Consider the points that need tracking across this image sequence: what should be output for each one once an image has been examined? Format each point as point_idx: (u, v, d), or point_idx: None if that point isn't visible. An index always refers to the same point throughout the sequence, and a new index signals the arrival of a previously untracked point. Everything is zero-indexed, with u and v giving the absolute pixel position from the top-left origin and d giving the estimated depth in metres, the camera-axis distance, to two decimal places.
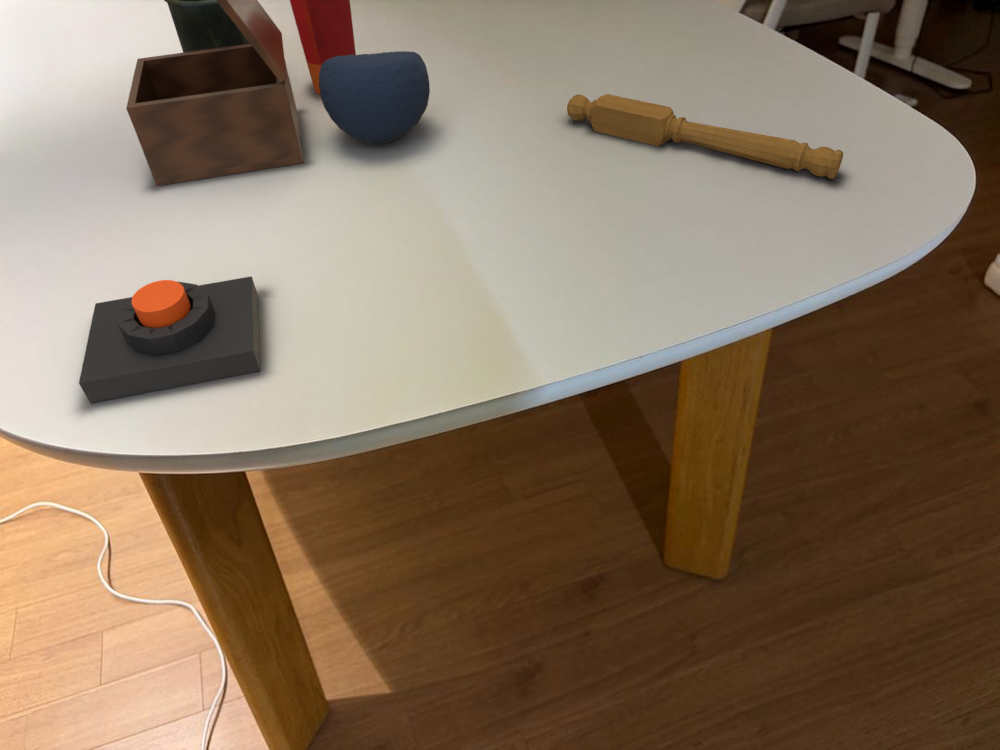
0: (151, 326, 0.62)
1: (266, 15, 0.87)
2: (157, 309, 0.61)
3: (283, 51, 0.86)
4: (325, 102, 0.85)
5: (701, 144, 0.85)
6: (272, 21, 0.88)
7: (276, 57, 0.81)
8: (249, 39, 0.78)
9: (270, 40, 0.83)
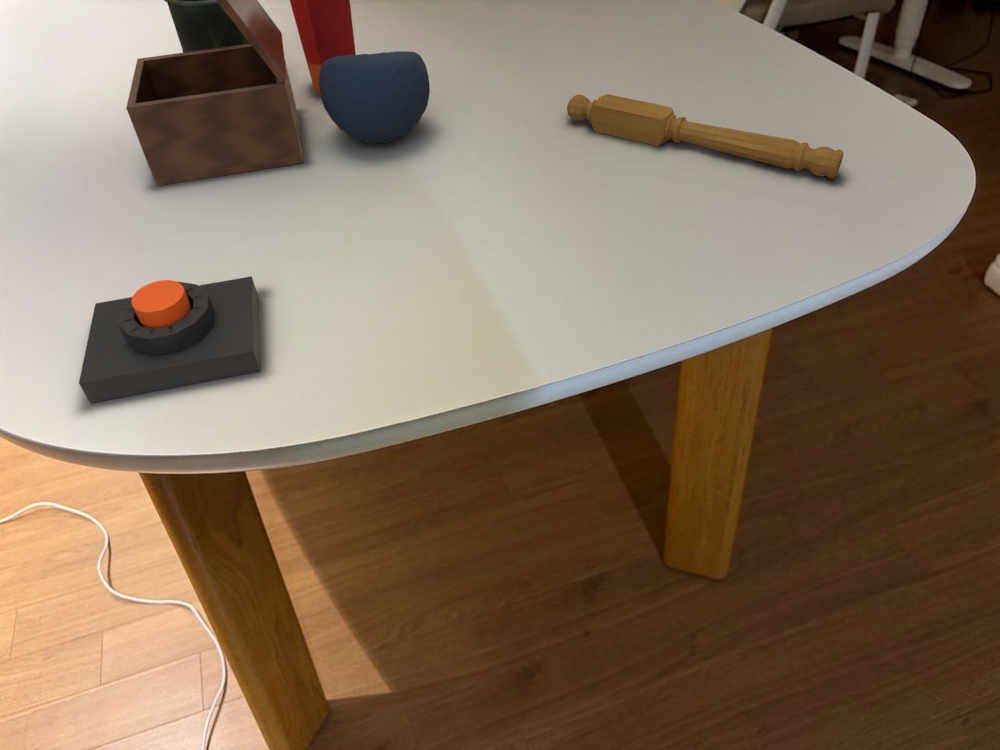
0: (151, 326, 0.62)
1: (266, 15, 0.87)
2: (157, 309, 0.61)
3: (283, 51, 0.86)
4: (325, 102, 0.85)
5: (701, 144, 0.85)
6: (272, 21, 0.88)
7: (276, 57, 0.81)
8: (249, 39, 0.78)
9: (270, 40, 0.83)
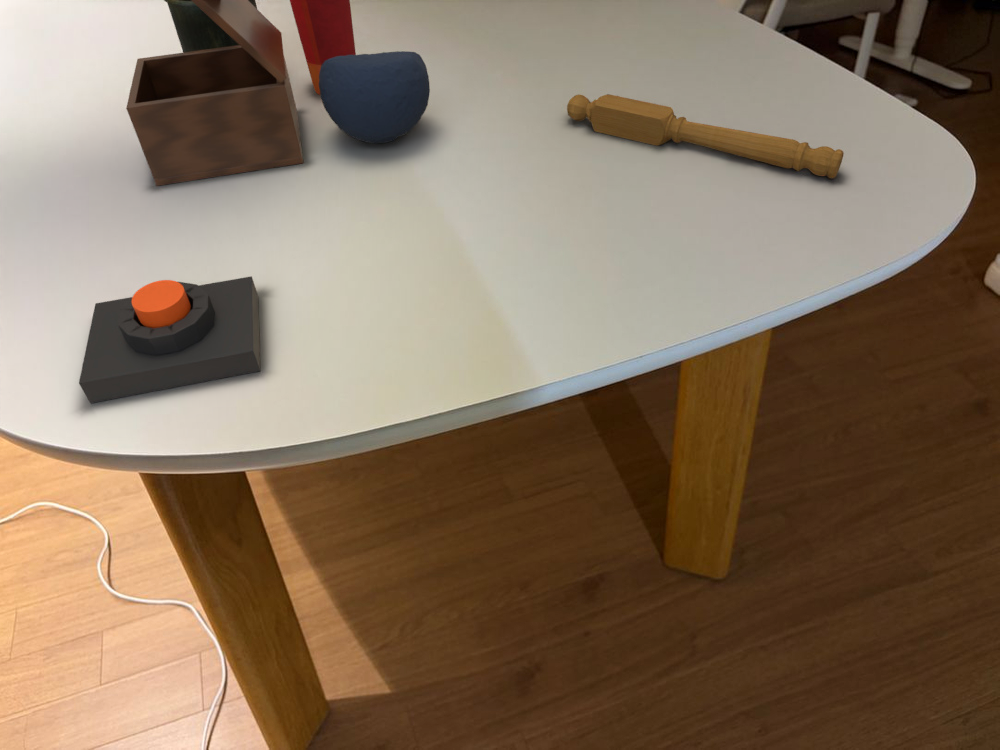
0: (151, 326, 0.62)
1: (262, 17, 0.87)
2: (157, 309, 0.61)
3: (282, 51, 0.86)
4: (325, 102, 0.85)
5: (701, 144, 0.85)
6: (269, 22, 0.88)
7: (273, 58, 0.82)
8: (242, 45, 0.78)
9: (266, 42, 0.83)
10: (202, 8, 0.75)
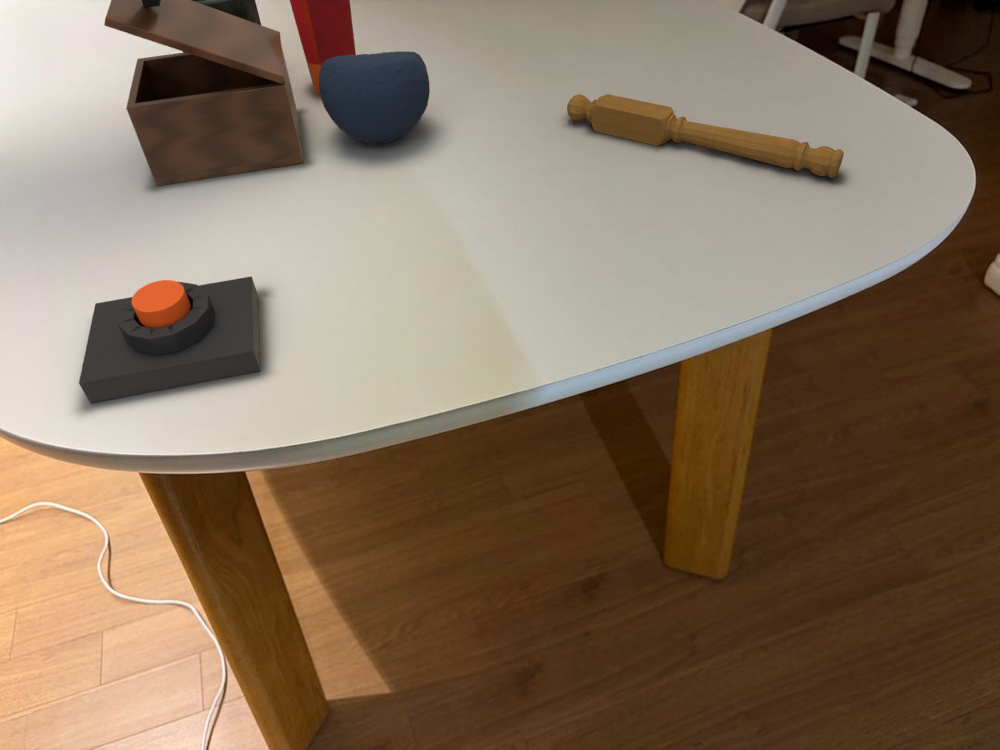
0: (151, 326, 0.62)
1: (255, 26, 0.88)
2: (157, 309, 0.61)
3: (280, 50, 0.86)
4: (325, 102, 0.85)
5: (701, 144, 0.85)
6: (264, 27, 0.89)
7: (268, 63, 0.82)
8: (232, 65, 0.79)
9: (260, 50, 0.83)
10: (182, 49, 0.77)
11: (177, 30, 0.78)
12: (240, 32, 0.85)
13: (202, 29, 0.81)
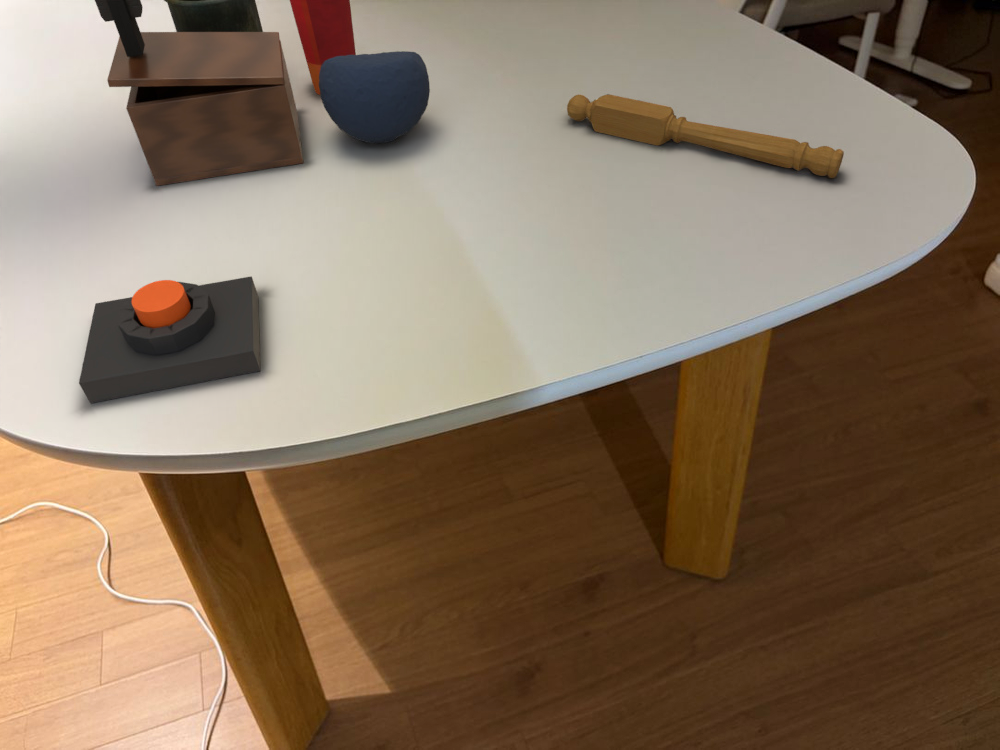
0: (151, 326, 0.62)
1: (253, 35, 0.88)
2: (157, 309, 0.61)
3: (279, 50, 0.86)
4: (325, 102, 0.85)
5: (701, 144, 0.85)
6: (263, 33, 0.89)
7: (267, 68, 0.82)
8: (232, 83, 0.80)
9: (258, 58, 0.84)
10: (183, 84, 0.79)
11: (175, 67, 0.80)
12: (238, 46, 0.86)
13: (200, 57, 0.83)
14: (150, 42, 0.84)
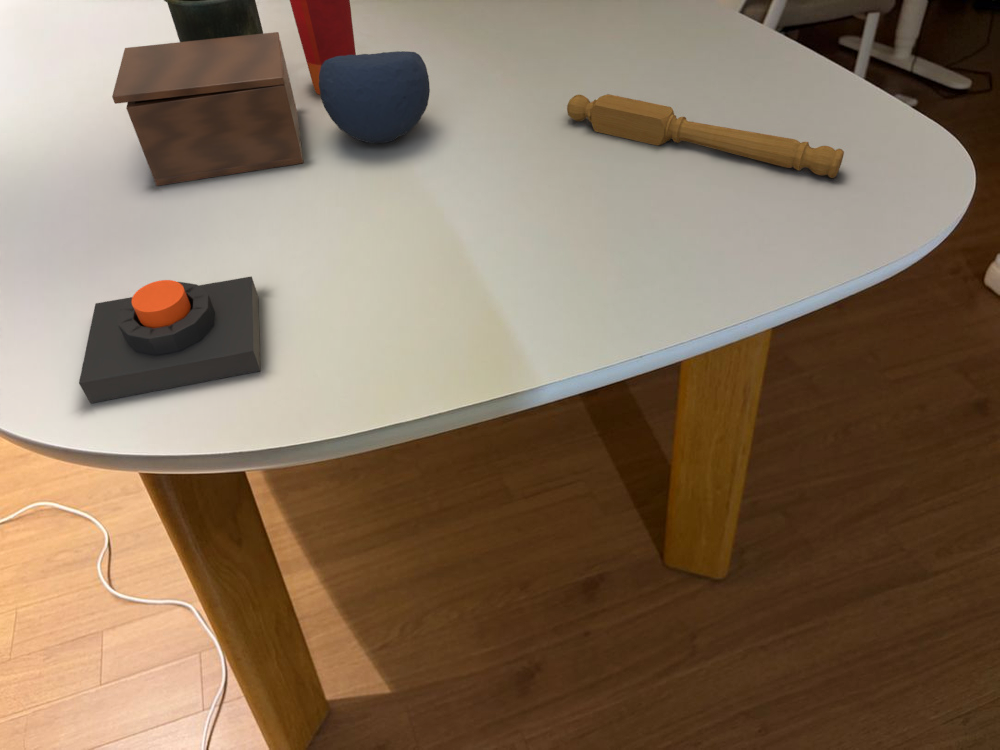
0: (151, 326, 0.62)
1: (253, 38, 0.88)
2: (157, 309, 0.61)
3: (279, 50, 0.86)
4: (325, 102, 0.85)
5: (702, 144, 0.85)
6: (263, 34, 0.89)
7: (267, 69, 0.82)
8: (233, 88, 0.80)
9: (258, 60, 0.84)
10: (185, 94, 0.80)
11: (177, 77, 0.81)
12: (238, 51, 0.86)
13: (202, 65, 0.83)
14: (153, 55, 0.85)
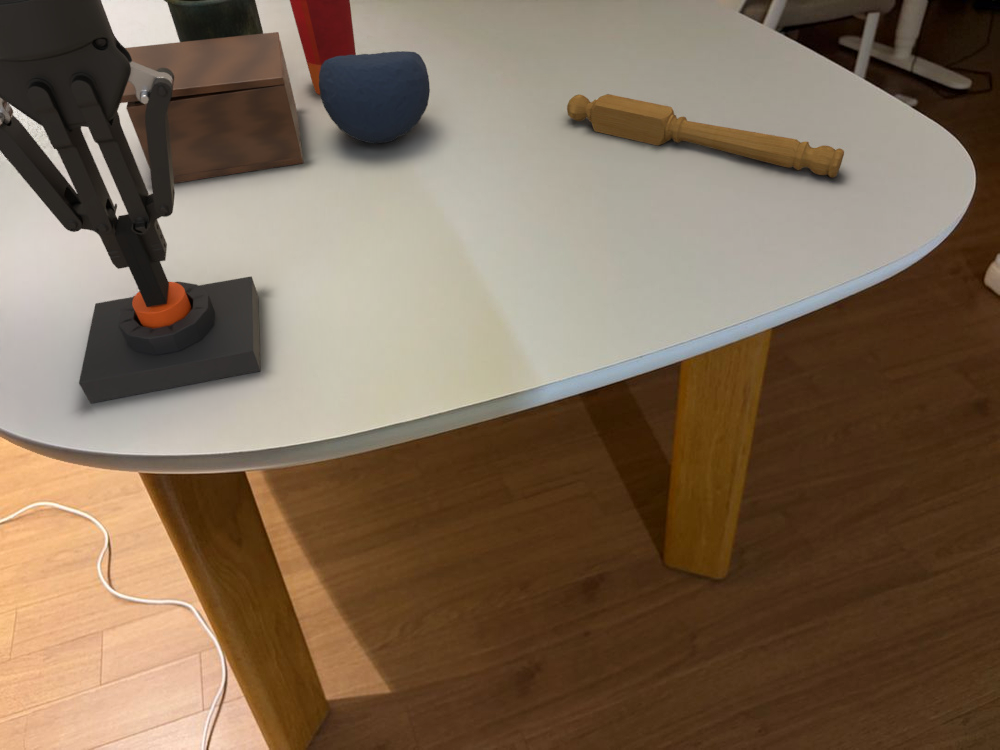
0: (152, 327, 0.62)
1: (253, 38, 0.88)
2: (158, 310, 0.61)
3: (279, 50, 0.86)
4: (325, 102, 0.85)
5: (702, 143, 0.85)
6: (263, 34, 0.89)
7: (267, 69, 0.82)
8: (233, 88, 0.80)
9: (258, 60, 0.84)
10: (185, 94, 0.80)
11: (177, 77, 0.81)
12: (238, 51, 0.86)
13: (202, 65, 0.83)
14: (153, 55, 0.85)
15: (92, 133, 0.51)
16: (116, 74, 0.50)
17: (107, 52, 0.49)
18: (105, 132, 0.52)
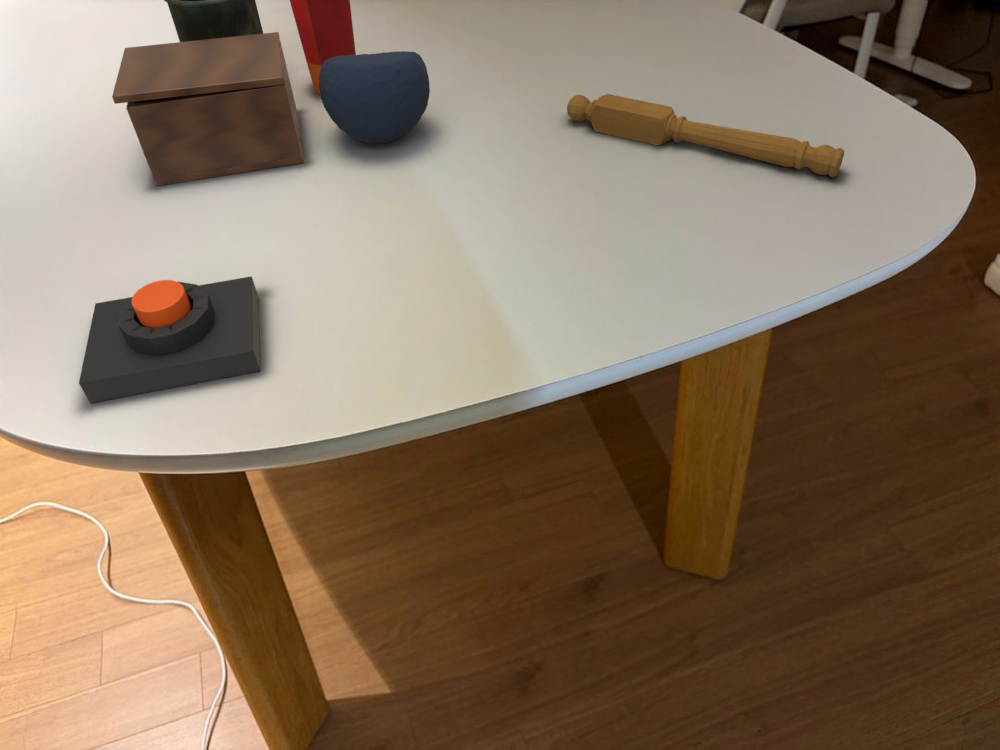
0: (151, 326, 0.62)
1: (253, 38, 0.88)
2: (157, 309, 0.61)
3: (279, 50, 0.86)
4: (325, 102, 0.85)
5: (702, 143, 0.85)
6: (263, 34, 0.89)
7: (267, 69, 0.82)
8: (233, 88, 0.80)
9: (258, 60, 0.84)
10: (185, 94, 0.80)
11: (177, 77, 0.81)
12: (238, 51, 0.86)
13: (202, 65, 0.83)
14: (153, 55, 0.85)
15: None
16: None
17: None
18: None
